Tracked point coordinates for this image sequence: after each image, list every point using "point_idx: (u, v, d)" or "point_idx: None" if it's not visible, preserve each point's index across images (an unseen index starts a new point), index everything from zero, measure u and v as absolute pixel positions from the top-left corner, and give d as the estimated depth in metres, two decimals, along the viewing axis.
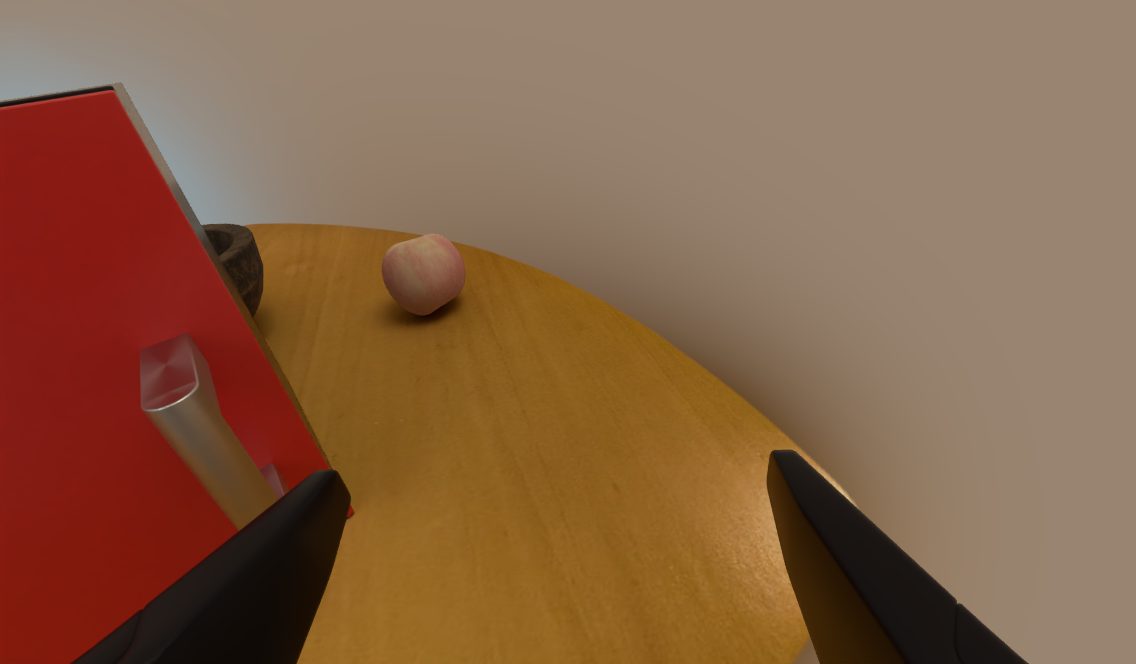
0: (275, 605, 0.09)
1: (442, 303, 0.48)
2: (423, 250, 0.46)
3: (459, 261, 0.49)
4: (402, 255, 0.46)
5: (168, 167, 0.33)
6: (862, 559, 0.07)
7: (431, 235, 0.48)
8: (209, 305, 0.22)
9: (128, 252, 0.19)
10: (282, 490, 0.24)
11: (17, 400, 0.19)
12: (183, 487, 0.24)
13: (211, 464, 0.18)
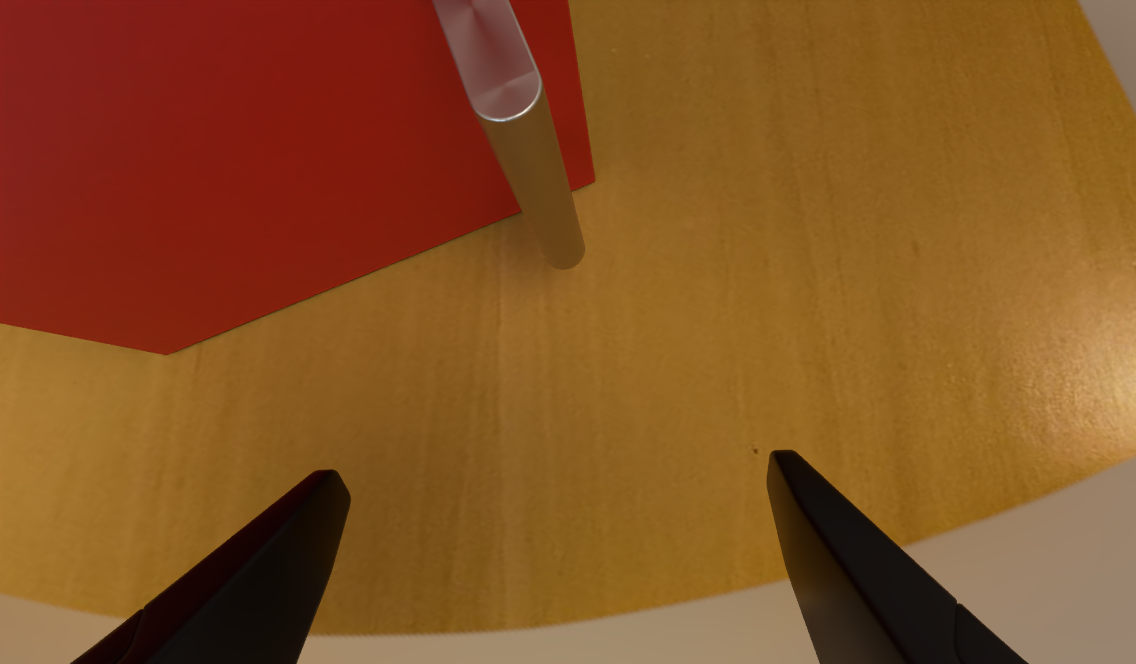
0: (275, 605, 0.09)
1: None
2: None
3: None
4: None
5: None
6: (862, 559, 0.07)
7: None
8: None
9: None
10: None
11: (279, 18, 0.13)
12: (449, 141, 0.20)
13: (536, 183, 0.14)
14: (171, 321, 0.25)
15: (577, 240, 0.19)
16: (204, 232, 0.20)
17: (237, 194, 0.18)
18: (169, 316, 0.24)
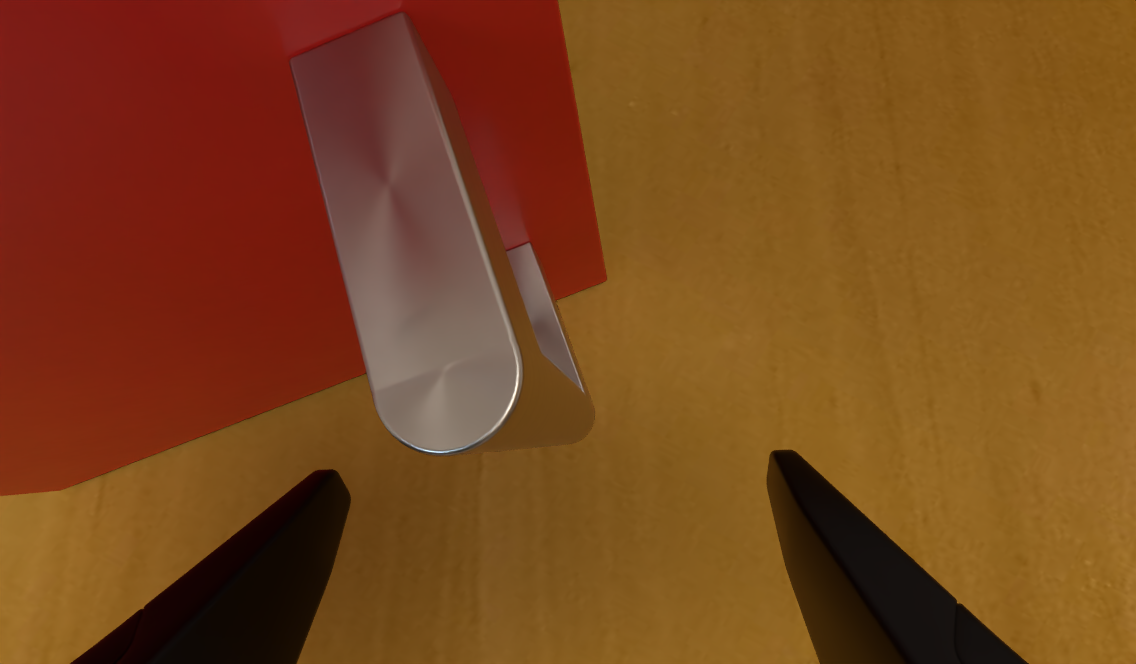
0: (275, 605, 0.09)
1: None
2: None
3: None
4: None
5: None
6: (862, 559, 0.07)
7: None
8: None
9: None
10: (557, 318, 0.14)
11: (44, 173, 0.07)
12: None
13: (519, 448, 0.08)
14: (50, 469, 0.19)
15: (585, 427, 0.13)
16: (51, 401, 0.14)
17: (83, 364, 0.12)
18: (43, 467, 0.18)
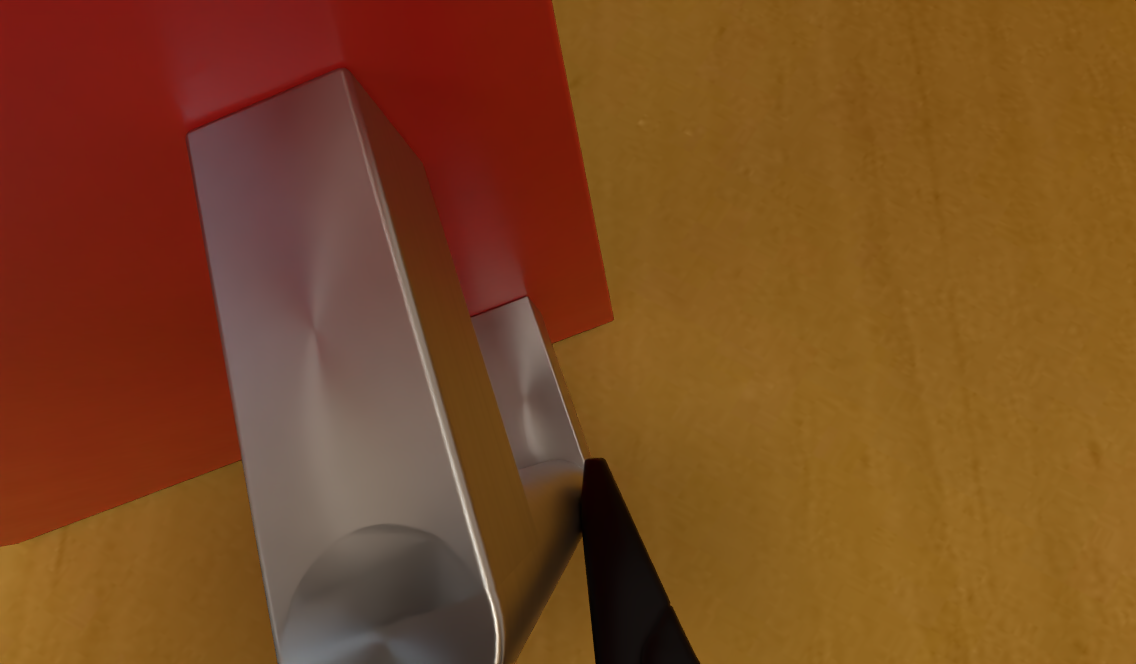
0: None
1: None
2: None
3: None
4: None
5: None
6: (607, 563, 0.07)
7: None
8: None
9: None
10: (558, 386, 0.12)
11: None
12: None
13: None
14: None
15: None
16: None
17: (3, 448, 0.11)
18: None
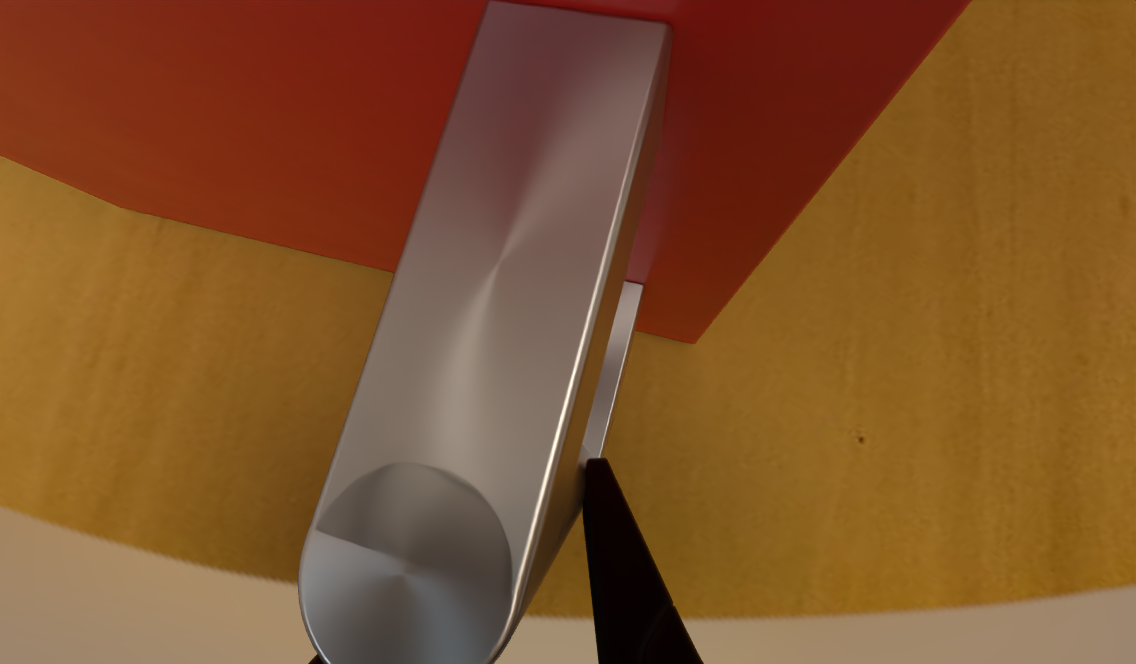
0: None
1: None
2: None
3: None
4: None
5: None
6: (609, 563, 0.07)
7: None
8: None
9: None
10: (619, 381, 0.12)
11: None
12: None
13: None
14: (113, 190, 0.19)
15: None
16: (123, 150, 0.13)
17: (158, 141, 0.11)
18: (108, 187, 0.18)
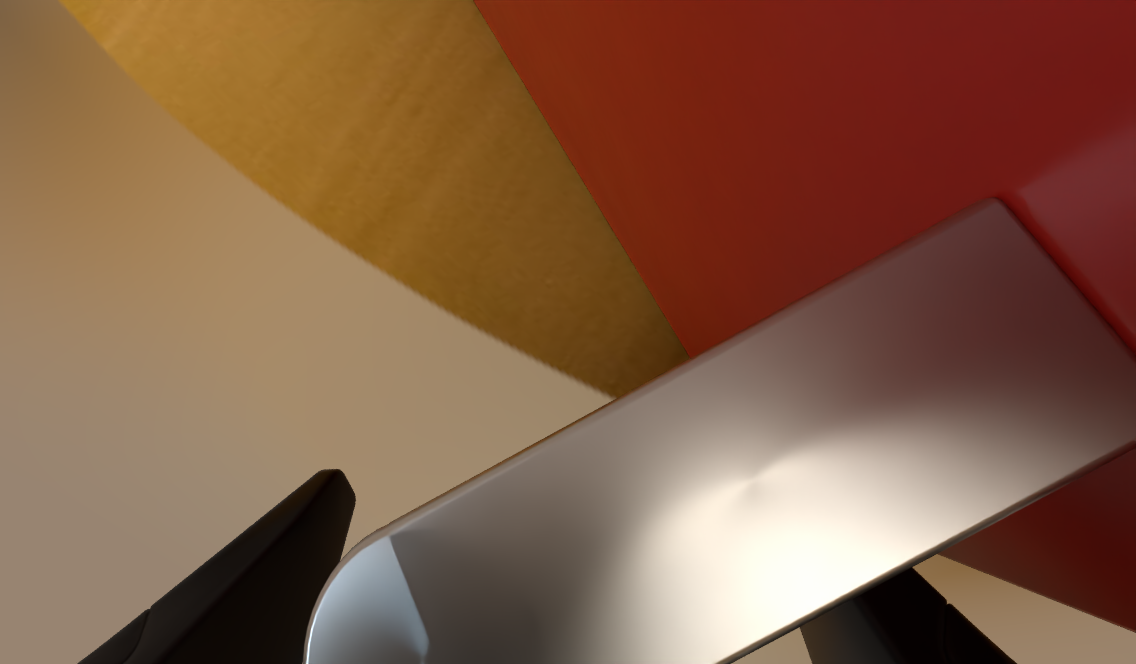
0: (281, 605, 0.09)
1: None
2: None
3: None
4: None
5: None
6: None
7: None
8: None
9: None
10: None
11: None
12: (709, 282, 0.11)
13: None
14: None
15: None
16: None
17: None
18: None
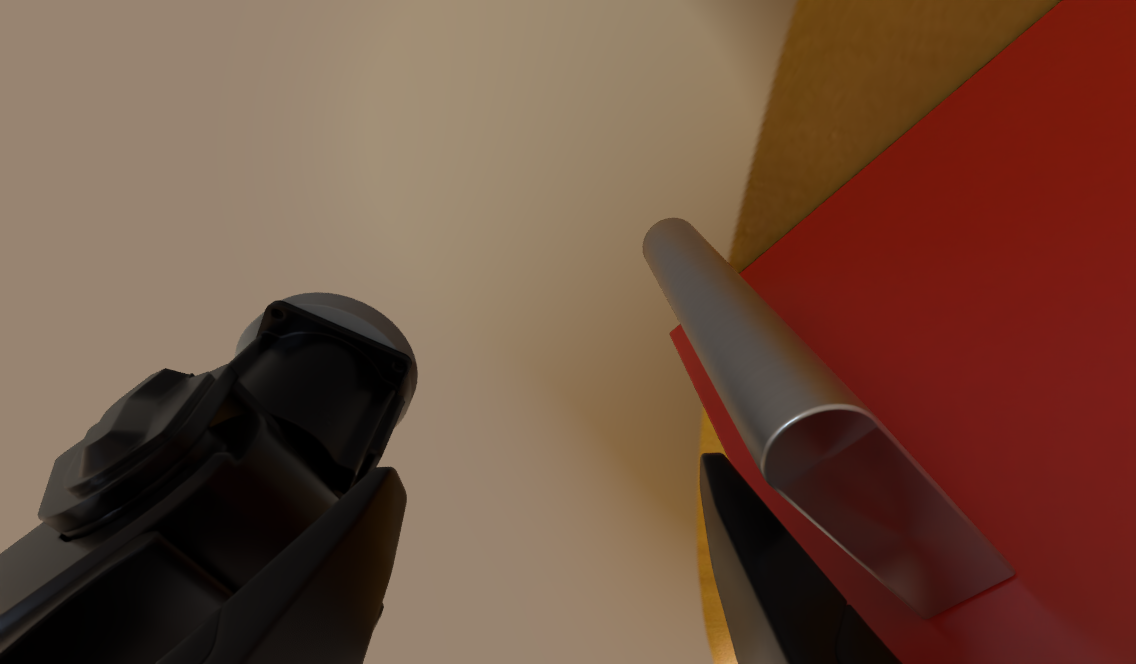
0: (345, 604, 0.08)
1: None
2: None
3: None
4: None
5: None
6: (765, 561, 0.07)
7: None
8: None
9: None
10: None
11: None
12: (871, 324, 0.14)
13: (726, 324, 0.09)
14: None
15: (654, 264, 0.14)
16: None
17: None
18: None
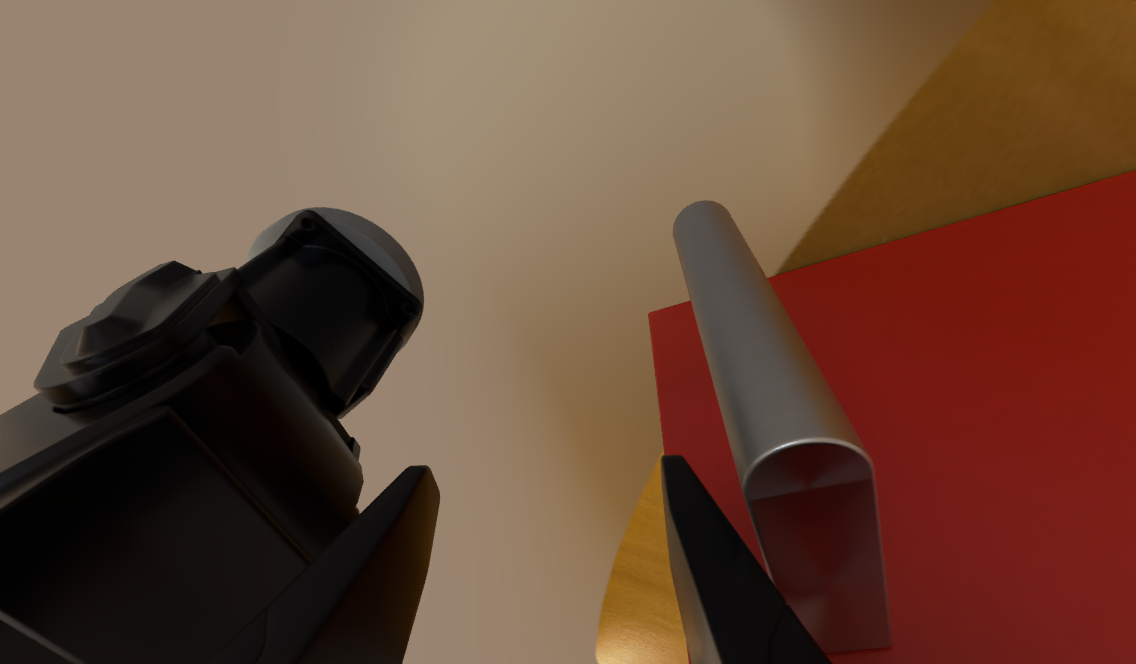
0: (386, 604, 0.08)
1: None
2: None
3: None
4: None
5: None
6: (711, 562, 0.07)
7: None
8: None
9: None
10: None
11: None
12: (846, 383, 0.15)
13: (754, 325, 0.09)
14: None
15: (685, 239, 0.14)
16: None
17: None
18: None
